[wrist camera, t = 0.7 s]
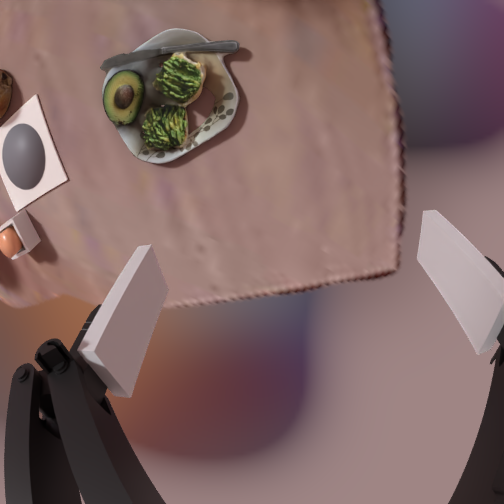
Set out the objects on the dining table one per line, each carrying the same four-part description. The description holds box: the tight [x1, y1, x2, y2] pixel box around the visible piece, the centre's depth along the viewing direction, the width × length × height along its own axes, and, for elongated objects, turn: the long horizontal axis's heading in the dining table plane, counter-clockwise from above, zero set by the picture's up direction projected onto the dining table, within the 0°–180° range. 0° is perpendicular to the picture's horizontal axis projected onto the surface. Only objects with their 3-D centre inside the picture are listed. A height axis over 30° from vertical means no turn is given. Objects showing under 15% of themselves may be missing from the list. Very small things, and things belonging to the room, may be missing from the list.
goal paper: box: [0, 94, 68, 211], centre depth 35 cm, size 16×16×1 cm
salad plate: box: [100, 29, 240, 164], centre depth 30 cm, size 19×18×5 cm
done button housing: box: [0, 209, 41, 260], centre depth 41 cm, size 7×7×4 cm
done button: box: [0, 226, 23, 258], centre depth 39 cm, size 5×5×3 cm
